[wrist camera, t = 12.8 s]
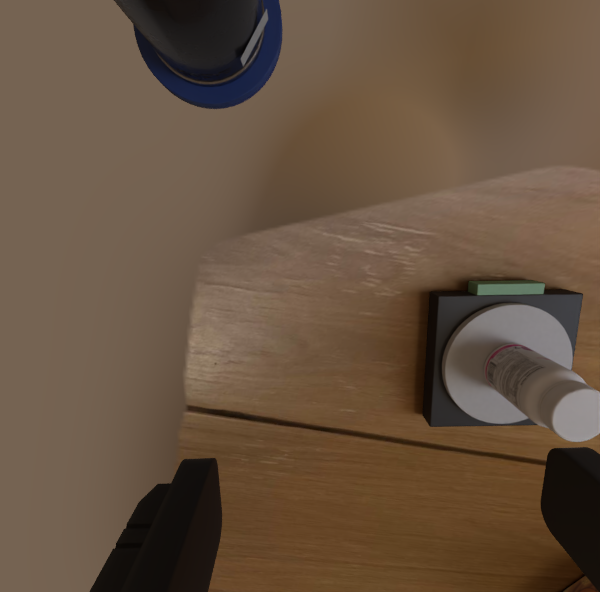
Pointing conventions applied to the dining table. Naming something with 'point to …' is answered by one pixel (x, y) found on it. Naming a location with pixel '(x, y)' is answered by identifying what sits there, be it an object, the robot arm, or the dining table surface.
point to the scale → (490, 345)
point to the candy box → (582, 586)
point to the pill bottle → (545, 391)
